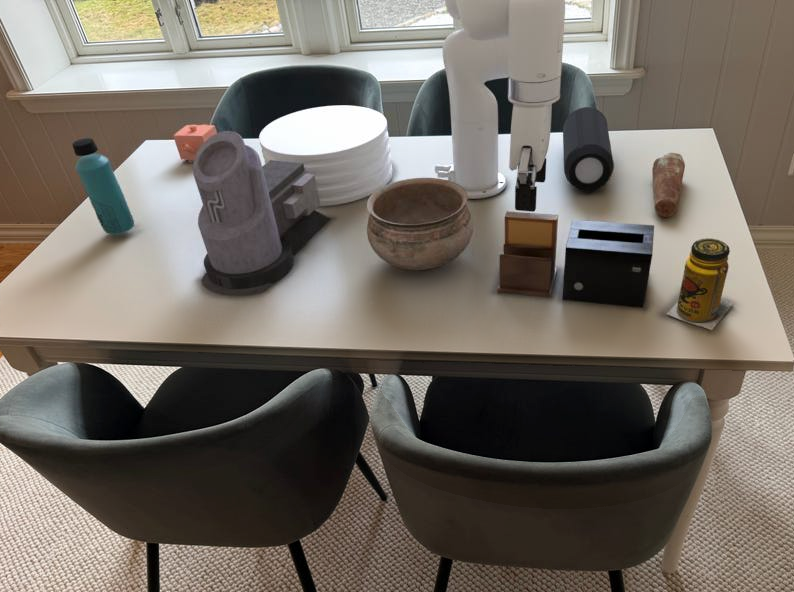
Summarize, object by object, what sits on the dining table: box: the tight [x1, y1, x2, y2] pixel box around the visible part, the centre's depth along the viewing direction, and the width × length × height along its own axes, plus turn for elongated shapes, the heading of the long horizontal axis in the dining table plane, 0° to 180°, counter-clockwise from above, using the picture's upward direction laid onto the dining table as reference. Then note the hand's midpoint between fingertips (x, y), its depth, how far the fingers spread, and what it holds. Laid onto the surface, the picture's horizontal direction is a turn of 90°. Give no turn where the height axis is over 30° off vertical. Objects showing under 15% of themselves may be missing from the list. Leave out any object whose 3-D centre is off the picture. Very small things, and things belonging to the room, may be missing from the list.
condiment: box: [666, 237, 734, 331], centre depth 102 cm, size 7×8×12 cm
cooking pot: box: [366, 177, 474, 271], centre depth 119 cm, size 25×19×12 cm
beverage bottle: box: [71, 137, 135, 235], centre depth 133 cm, size 6×7×20 cm
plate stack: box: [258, 104, 394, 207], centre depth 150 cm, size 28×28×12 cm
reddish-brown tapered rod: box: [651, 152, 686, 218], centre depth 133 cm, size 6×19×6 cm, turn 161°
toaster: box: [561, 219, 655, 309], centre depth 109 cm, size 13×10×10 cm
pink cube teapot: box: [172, 124, 218, 163], centre depth 165 cm, size 8×12×8 cm, turn 168°
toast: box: [504, 211, 559, 277], centre depth 112 cm, size 8×2×11 cm, turn 74°
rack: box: [496, 243, 558, 298], centre depth 113 cm, size 9×8×7 cm
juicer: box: [192, 130, 331, 297], centre depth 122 cm, size 30×16×24 cm, turn 158°
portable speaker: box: [562, 106, 615, 193], centre depth 144 cm, size 26×10×10 cm, turn 172°
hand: (530, 195), depth 107 cm, fingers open, 9 cm apart
